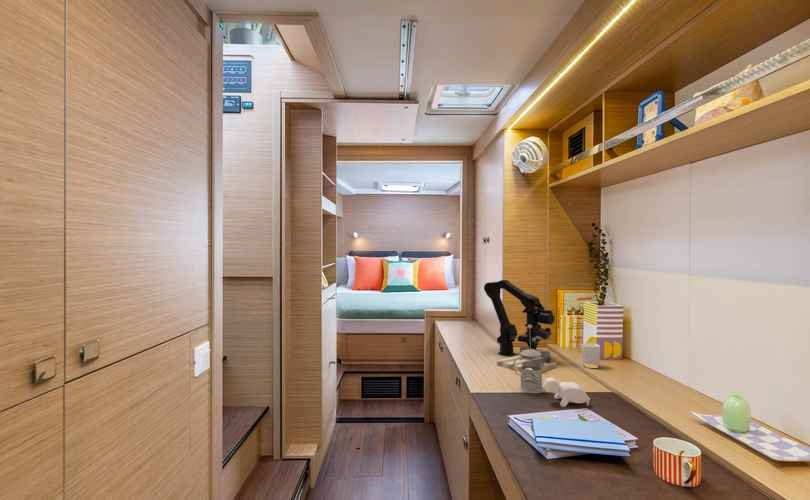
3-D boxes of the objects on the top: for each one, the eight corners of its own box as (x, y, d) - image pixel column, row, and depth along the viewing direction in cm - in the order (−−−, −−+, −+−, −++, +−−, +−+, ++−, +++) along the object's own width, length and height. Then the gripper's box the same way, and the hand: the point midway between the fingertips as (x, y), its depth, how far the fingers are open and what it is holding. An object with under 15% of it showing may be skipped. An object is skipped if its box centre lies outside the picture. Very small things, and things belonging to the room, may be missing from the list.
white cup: (578, 365, 182) (577, 344, 183) (589, 363, 186) (589, 342, 186) (592, 370, 175) (591, 347, 175) (604, 367, 179) (603, 345, 179)
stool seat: (496, 364, 187) (496, 352, 187) (521, 358, 197) (521, 346, 197) (531, 374, 171) (531, 361, 171) (556, 367, 181) (556, 354, 181)
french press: (547, 393, 147) (544, 327, 148) (515, 392, 150) (512, 326, 150) (543, 385, 157) (541, 322, 157) (513, 384, 159) (511, 322, 160)
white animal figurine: (577, 406, 142) (537, 391, 143) (585, 384, 142) (545, 369, 143) (586, 416, 134) (543, 399, 135) (594, 393, 133) (552, 376, 135)
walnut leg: (552, 361, 182) (551, 352, 183) (547, 362, 180) (546, 353, 181) (524, 354, 196) (524, 346, 196) (519, 355, 194) (519, 347, 194)
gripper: (537, 326, 183) (538, 360, 183) (557, 321, 195) (558, 353, 195) (516, 324, 191) (517, 356, 191) (536, 319, 204) (537, 349, 203)
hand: (533, 353), depth 195 cm, fingers closed
